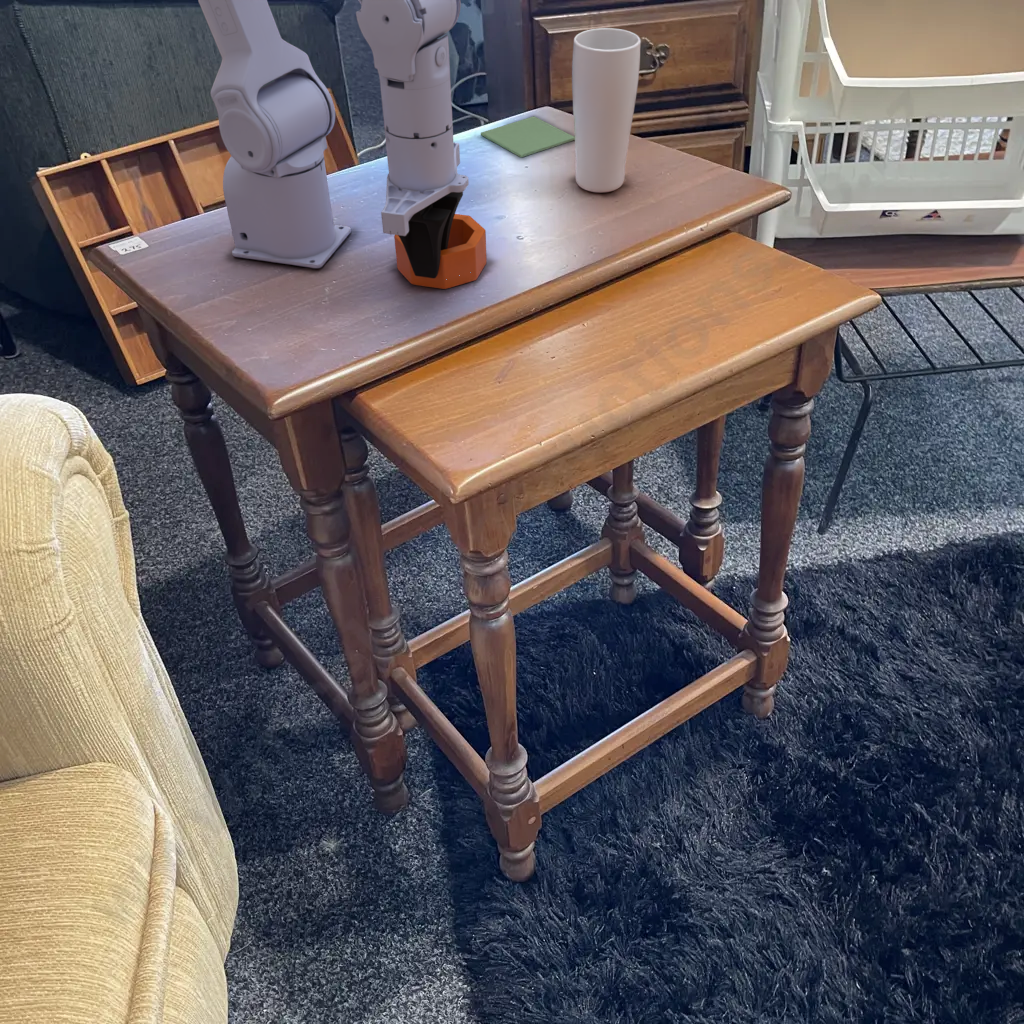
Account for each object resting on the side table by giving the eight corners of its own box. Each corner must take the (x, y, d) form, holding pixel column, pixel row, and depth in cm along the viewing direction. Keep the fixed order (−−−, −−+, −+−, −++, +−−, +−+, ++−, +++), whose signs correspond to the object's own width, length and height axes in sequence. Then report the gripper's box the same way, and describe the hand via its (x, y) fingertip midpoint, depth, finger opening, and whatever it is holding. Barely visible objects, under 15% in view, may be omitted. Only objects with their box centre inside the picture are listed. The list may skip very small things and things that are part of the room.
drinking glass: (633, 197, 105) (644, 50, 95) (569, 198, 105) (574, 51, 95) (628, 169, 110) (638, 26, 100) (567, 170, 110) (571, 27, 100)
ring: (388, 281, 93) (384, 247, 91) (417, 240, 99) (414, 208, 96) (468, 293, 91) (467, 259, 89) (493, 251, 97) (493, 218, 94)
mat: (521, 157, 113) (521, 155, 112) (480, 135, 117) (480, 132, 117) (575, 139, 116) (575, 137, 116) (533, 118, 121) (533, 116, 120)
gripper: (435, 166, 76) (444, 317, 86) (489, 97, 86) (493, 239, 96) (350, 156, 78) (369, 306, 87) (414, 89, 88) (424, 230, 97)
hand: (429, 270), depth 92 cm, fingers closed on ring
